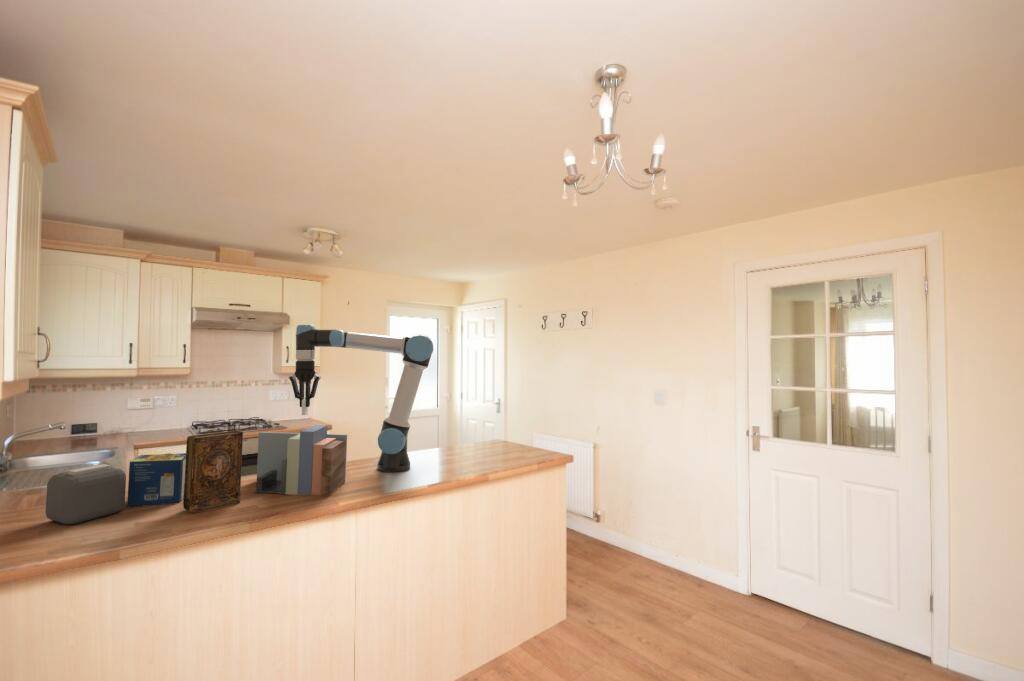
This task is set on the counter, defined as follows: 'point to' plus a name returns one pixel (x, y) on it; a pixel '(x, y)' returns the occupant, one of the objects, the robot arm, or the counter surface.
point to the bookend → (272, 481)
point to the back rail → (280, 451)
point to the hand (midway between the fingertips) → (304, 414)
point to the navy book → (308, 456)
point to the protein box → (156, 479)
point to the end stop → (332, 467)
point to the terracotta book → (318, 464)
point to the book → (212, 471)
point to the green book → (292, 465)
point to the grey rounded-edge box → (85, 494)
